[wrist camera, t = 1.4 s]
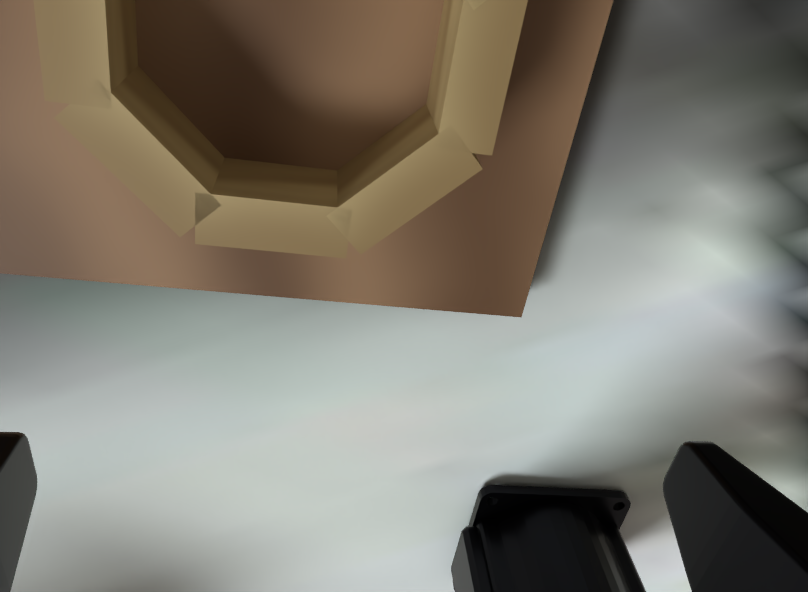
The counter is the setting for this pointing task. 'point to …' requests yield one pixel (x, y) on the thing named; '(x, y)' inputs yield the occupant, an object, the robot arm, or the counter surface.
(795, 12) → the counter surface
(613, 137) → the counter surface
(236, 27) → the ring board
